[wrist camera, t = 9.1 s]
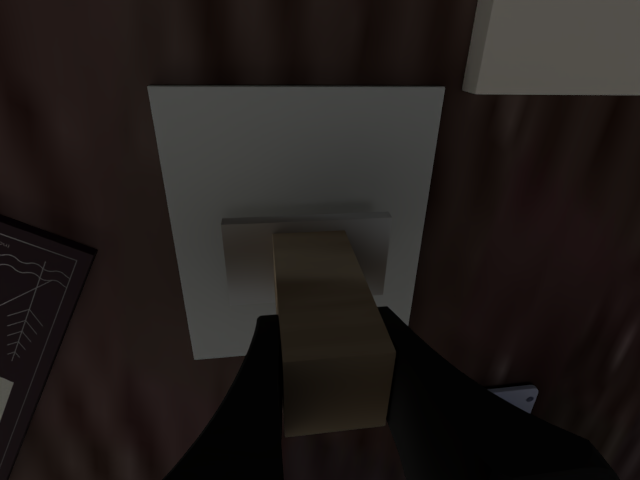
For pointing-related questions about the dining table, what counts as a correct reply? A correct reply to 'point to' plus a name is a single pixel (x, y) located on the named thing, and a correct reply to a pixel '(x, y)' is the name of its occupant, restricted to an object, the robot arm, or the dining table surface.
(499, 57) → the tile
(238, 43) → the dining table surface
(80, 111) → the dining table surface
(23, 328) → the chocolate bar
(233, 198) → the mat
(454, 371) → the robot arm
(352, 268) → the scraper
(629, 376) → the dining table surface
